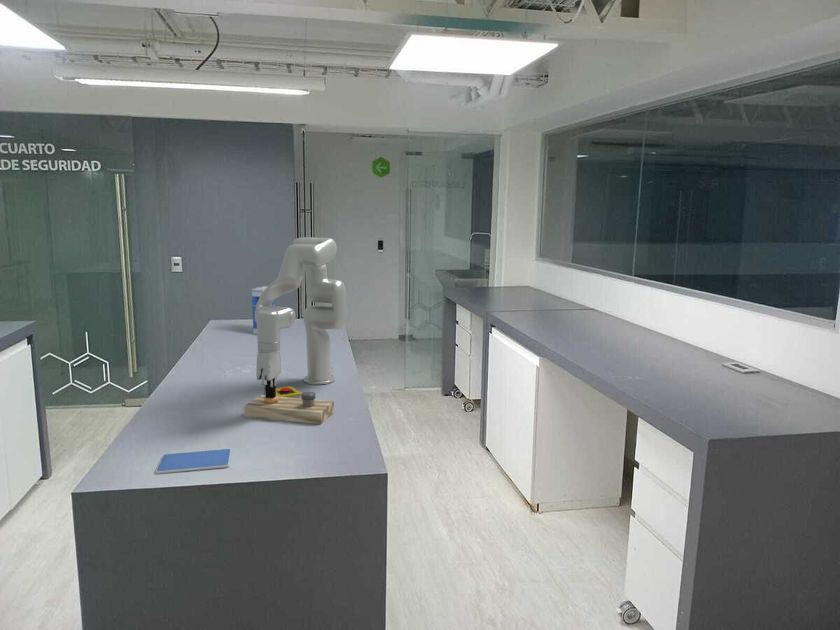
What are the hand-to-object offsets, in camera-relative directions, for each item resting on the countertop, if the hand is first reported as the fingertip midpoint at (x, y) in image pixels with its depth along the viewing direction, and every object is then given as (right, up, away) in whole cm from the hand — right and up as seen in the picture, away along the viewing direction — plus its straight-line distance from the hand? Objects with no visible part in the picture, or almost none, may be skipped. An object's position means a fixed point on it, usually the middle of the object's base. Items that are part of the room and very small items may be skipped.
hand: (270, 397), depth 212 cm
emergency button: (+1, -3, +18) cm, 18 cm away
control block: (+7, -6, 0) cm, 9 cm away
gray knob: (+14, -4, -2) cm, 14 cm away
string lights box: (-36, +19, +134) cm, 140 cm away
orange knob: (0, -5, +1) cm, 6 cm away
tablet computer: (-12, -14, -39) cm, 43 cm away
